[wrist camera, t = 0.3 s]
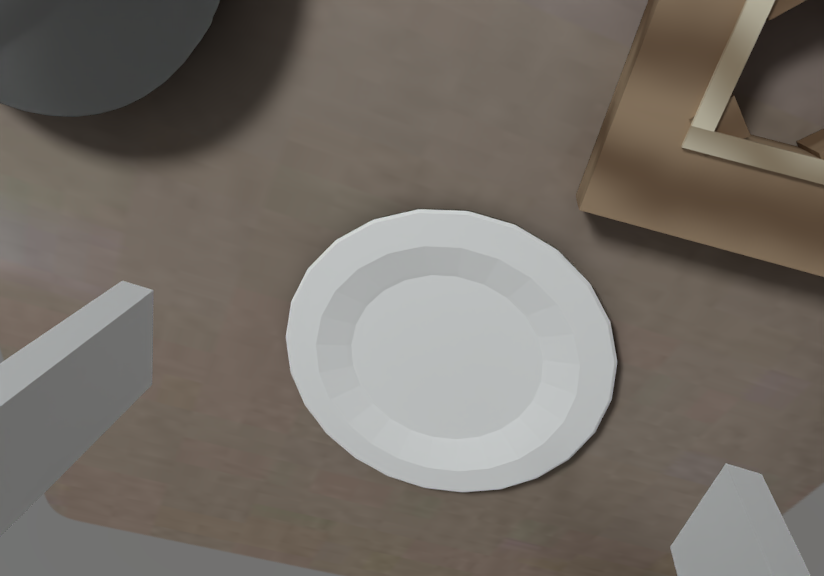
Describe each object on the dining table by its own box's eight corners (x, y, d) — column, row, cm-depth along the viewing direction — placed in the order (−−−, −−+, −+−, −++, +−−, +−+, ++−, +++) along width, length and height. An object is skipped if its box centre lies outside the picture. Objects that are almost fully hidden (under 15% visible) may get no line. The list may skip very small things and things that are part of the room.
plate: (571, 506, 49) (572, 522, 48) (291, 446, 52) (283, 459, 51) (658, 234, 38) (663, 243, 36) (294, 176, 41) (285, 182, 39)
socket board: (718, -189, 28) (740, -212, 25) (1102, -103, 27) (1172, -116, 24) (575, 195, 37) (579, 211, 34) (856, 271, 36) (885, 295, 33)
